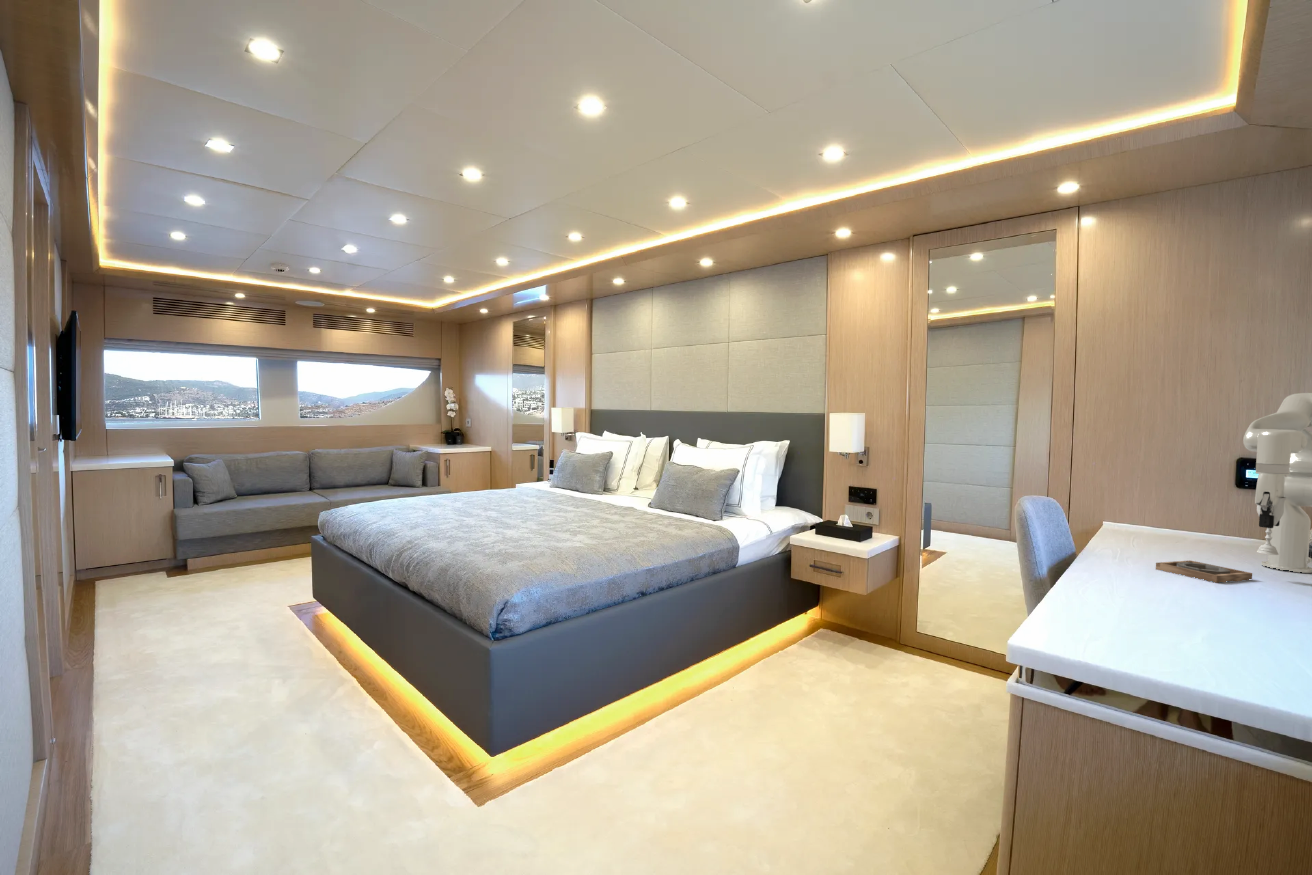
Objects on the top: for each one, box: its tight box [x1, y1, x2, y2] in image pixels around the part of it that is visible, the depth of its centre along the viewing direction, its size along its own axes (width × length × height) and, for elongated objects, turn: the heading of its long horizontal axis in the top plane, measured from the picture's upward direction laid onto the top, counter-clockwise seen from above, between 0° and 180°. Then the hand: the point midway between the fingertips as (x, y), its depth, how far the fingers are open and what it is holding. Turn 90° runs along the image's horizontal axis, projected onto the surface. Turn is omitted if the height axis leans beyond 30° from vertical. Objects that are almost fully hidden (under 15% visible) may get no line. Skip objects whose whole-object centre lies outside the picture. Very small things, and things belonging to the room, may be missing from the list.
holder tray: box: [1155, 560, 1253, 584], centre depth 197 cm, size 17×17×2 cm
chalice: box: [1256, 497, 1286, 555], centre depth 193 cm, size 7×7×18 cm
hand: (1269, 525), depth 193 cm, fingers closed on chalice, 6 cm apart
